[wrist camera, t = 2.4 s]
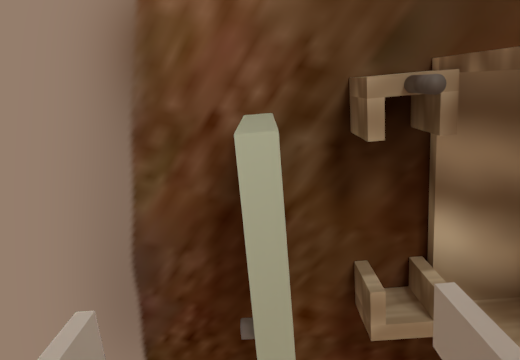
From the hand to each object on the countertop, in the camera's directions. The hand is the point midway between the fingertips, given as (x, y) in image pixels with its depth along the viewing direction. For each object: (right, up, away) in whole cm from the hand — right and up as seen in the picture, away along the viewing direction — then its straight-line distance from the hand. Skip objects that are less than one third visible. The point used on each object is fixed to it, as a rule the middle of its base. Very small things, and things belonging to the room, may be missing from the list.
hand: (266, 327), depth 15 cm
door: (0, +4, +14) cm, 14 cm away
